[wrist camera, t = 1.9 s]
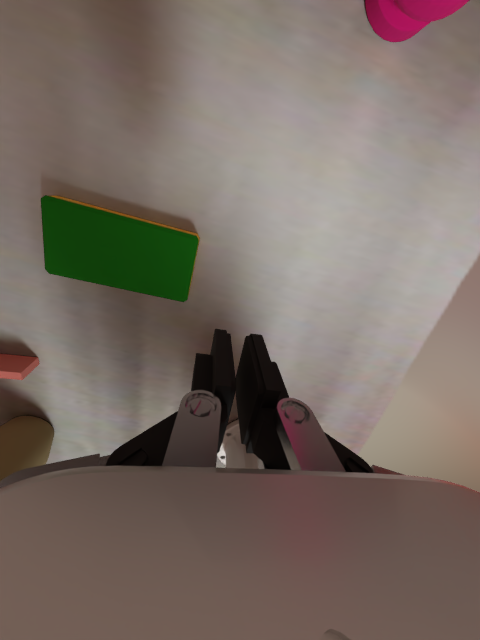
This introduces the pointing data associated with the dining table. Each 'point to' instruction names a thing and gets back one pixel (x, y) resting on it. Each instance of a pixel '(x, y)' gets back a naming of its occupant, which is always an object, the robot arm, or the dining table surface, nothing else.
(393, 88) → the dining table surface
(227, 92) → the dining table surface
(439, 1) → the pepper mill
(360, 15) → the dining table surface
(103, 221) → the dish sponge
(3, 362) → the pink u-shaped bracket
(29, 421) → the squeeze bottle
